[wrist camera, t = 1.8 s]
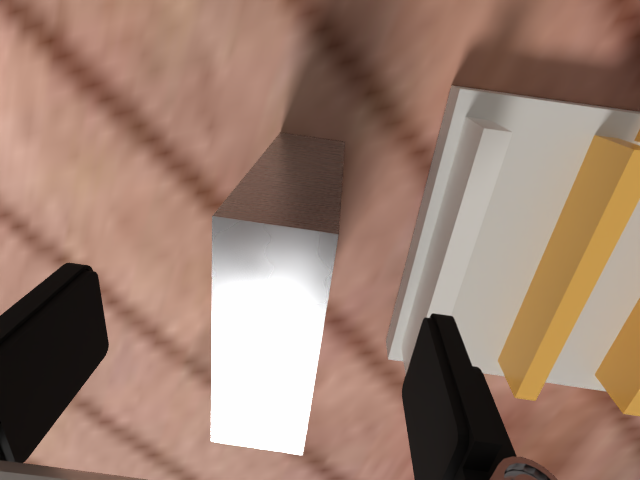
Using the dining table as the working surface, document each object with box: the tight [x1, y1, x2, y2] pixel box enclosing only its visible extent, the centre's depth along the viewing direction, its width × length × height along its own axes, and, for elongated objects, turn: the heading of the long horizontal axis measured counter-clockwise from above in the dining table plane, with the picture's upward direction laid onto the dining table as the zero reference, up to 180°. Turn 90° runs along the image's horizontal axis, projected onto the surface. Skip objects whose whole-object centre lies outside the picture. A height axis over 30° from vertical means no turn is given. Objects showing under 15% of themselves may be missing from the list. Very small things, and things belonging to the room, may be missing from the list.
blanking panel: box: [211, 133, 345, 455], centre depth 16 cm, size 8×3×10 cm, turn 173°
